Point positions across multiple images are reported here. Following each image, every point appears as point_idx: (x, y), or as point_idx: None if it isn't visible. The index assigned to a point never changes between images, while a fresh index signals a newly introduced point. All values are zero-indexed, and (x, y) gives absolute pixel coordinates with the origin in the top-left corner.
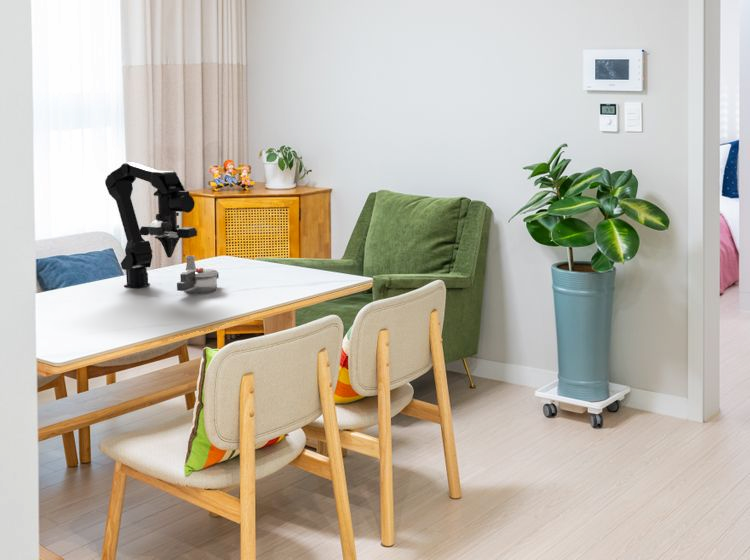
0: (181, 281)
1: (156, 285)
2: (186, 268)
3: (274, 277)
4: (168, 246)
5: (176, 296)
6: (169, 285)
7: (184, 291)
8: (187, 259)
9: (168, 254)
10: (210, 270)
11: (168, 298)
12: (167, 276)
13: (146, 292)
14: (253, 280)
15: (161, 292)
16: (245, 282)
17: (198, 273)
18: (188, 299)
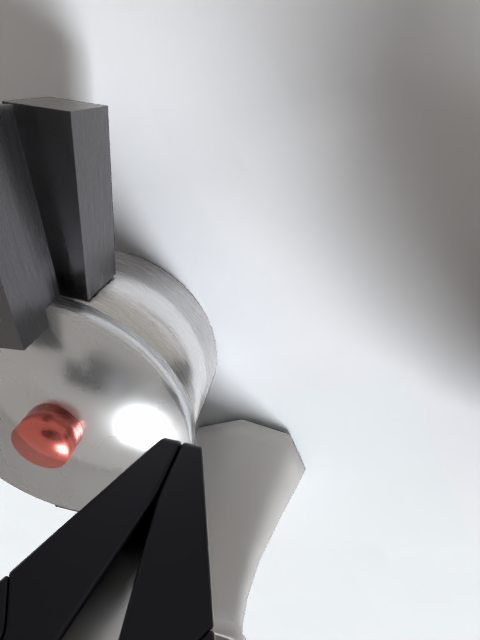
0: (2, 105)
1: (455, 434)
2: (246, 541)
3: (8, 571)
4: (26, 637)
5: (162, 139)
6: (368, 440)
7: (182, 288)
8: (225, 613)
9: (155, 473)
10: (30, 475)
11: (181, 37)
12: (456, 600)
13: (467, 224)
14: (39, 536)
15: (340, 249)
16: (42, 508)
17: (27, 380)
18: (14, 52)
